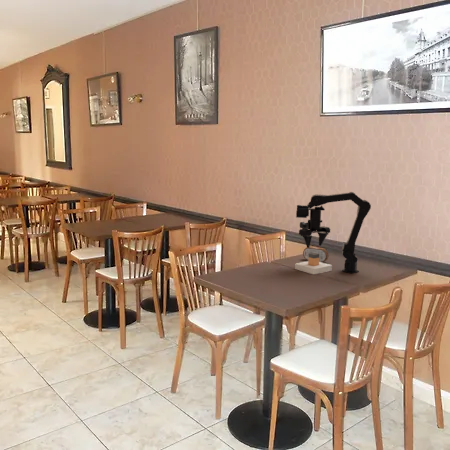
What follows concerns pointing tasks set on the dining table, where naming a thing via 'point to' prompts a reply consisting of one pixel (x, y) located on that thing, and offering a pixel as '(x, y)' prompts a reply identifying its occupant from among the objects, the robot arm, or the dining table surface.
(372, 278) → the dining table surface
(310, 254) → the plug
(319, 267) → the socket block
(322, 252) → the tin
